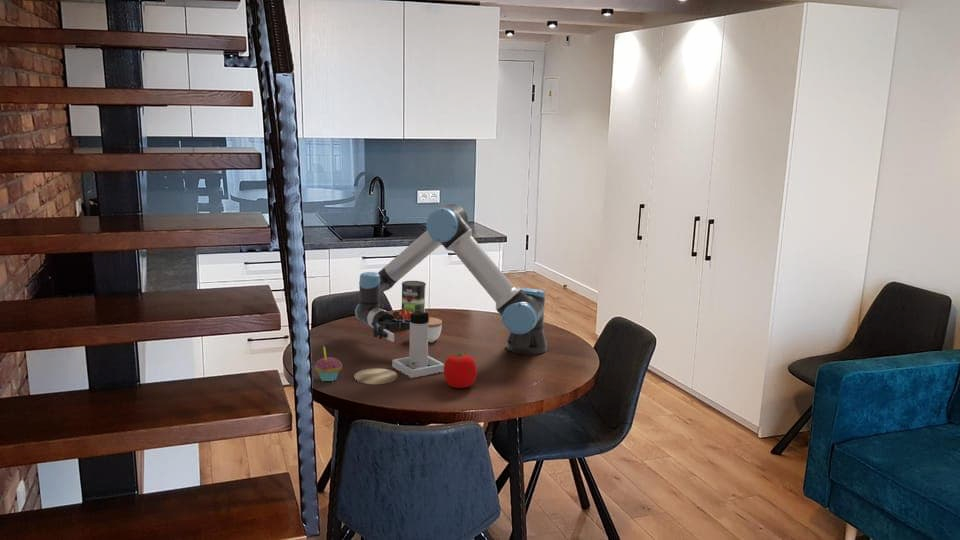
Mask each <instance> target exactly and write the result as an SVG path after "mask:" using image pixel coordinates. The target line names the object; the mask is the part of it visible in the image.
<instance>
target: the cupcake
mask: <svg viewBox="0 0 960 540" xmlns="http://www.w3.org/2000/svg"><path fill="white" fill-rule="evenodd" d="M326 349H327V348H326V347H325V345H324V344H323V355H324V356H323V357H322V358H321V359H319V360H317V361H316V362H315V364H314V366H315V367H314V371H316V372H318V374H319V377H320V380H321V381H322V382H324V381H332V382H335V381H336V380H337V377H338V374H339V372H340V371H341V370H342V369H343V365H342V362H341V360H339V359H337V358H336V357H333V356H331V357H327V350H326ZM334 380H335V381H334Z"/></svg>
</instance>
